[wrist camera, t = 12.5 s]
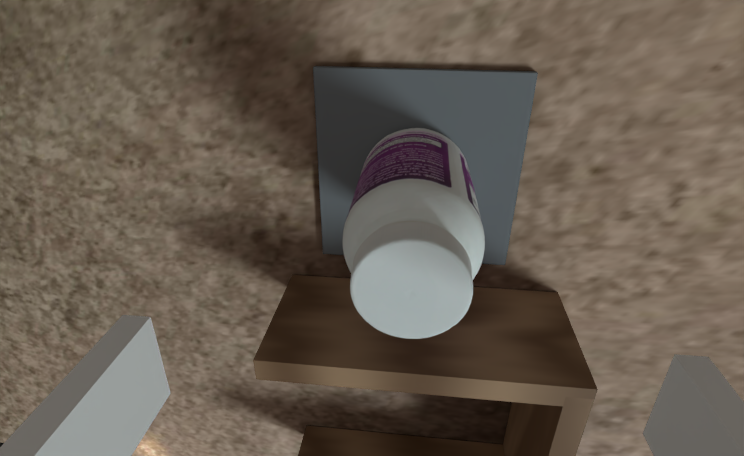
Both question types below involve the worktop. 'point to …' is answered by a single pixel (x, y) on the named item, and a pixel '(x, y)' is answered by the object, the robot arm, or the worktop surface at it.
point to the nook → (437, 368)
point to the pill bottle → (413, 235)
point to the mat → (430, 111)
